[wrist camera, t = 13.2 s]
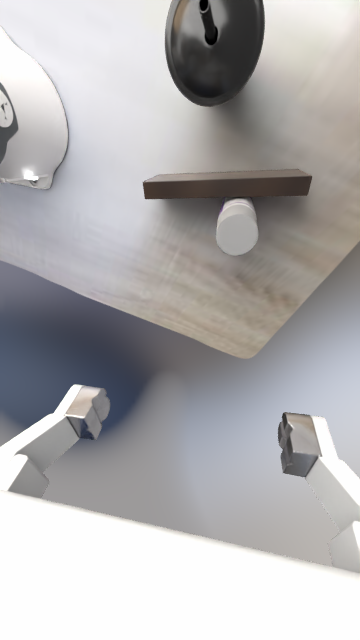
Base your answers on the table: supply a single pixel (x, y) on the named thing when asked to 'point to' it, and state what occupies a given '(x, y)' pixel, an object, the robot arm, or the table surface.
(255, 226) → the container
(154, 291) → the table surface
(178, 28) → the drinking cup
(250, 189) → the bar
